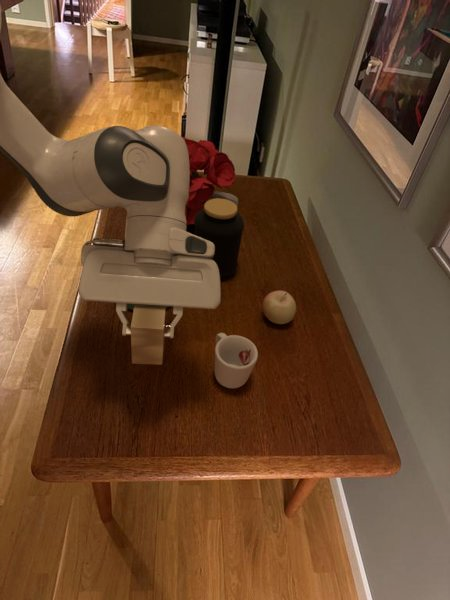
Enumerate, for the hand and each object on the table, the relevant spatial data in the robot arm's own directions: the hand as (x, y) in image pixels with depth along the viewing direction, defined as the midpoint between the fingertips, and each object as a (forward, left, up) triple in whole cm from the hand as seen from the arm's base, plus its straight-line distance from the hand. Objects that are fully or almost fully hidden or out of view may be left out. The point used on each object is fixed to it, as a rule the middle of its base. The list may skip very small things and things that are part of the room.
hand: (148, 336), depth 58 cm
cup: (+17, +4, -19) cm, 26 cm away
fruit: (+33, +16, -19) cm, 41 cm away
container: (+24, +36, -19) cm, 48 cm away
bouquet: (+25, +60, -19) cm, 68 cm away
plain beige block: (0, +1, -4) cm, 4 cm away
